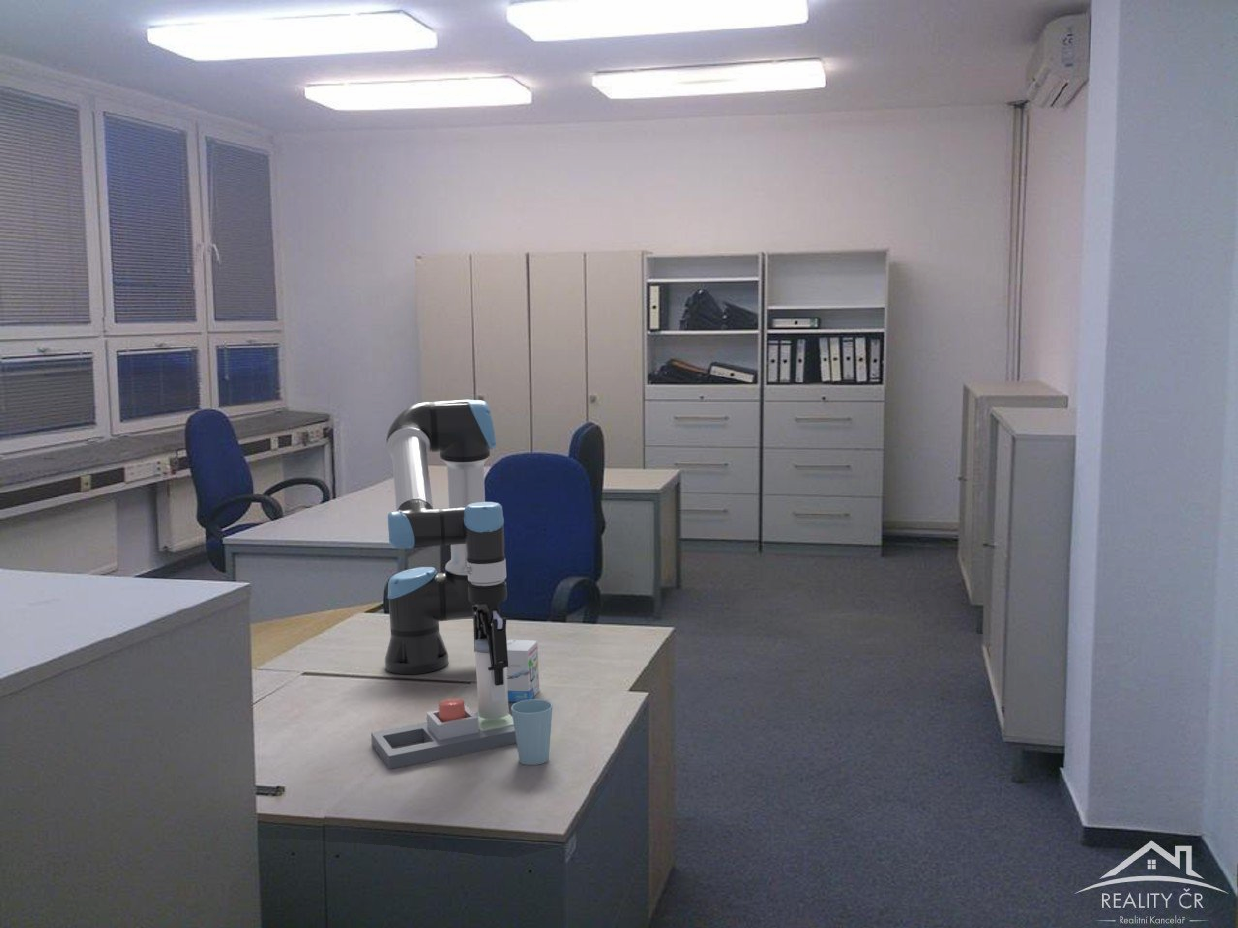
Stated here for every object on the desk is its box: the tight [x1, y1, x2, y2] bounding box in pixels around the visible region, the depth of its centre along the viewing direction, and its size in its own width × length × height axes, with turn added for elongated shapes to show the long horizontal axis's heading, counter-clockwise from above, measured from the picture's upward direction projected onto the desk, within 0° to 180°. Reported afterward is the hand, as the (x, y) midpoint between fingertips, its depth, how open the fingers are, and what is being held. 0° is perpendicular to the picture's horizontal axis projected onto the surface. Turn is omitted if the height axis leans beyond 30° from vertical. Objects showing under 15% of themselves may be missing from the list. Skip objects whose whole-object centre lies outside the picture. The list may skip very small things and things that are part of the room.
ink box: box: [506, 639, 540, 703], centre depth 242 cm, size 9×8×12 cm
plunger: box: [438, 698, 465, 722], centre depth 216 cm, size 5×5×5 cm
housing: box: [370, 705, 517, 770], centre depth 216 cm, size 14×27×6 cm, turn 116°
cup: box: [510, 698, 553, 766], centre depth 206 cm, size 8×8×10 cm
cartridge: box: [473, 638, 510, 719], centre depth 219 cm, size 6×6×15 cm
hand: (492, 694), depth 219 cm, fingers closed on cartridge, 6 cm apart
